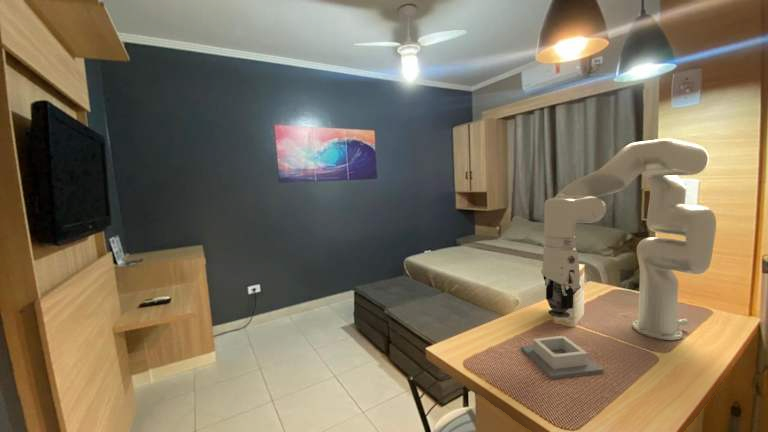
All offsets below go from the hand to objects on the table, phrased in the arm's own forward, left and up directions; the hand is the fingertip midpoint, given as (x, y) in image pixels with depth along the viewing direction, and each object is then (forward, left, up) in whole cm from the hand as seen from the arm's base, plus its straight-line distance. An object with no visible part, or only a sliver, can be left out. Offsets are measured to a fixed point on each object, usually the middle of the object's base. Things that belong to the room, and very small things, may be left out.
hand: (559, 303), depth 89 cm
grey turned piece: (0, 0, -3) cm, 3 cm away
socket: (0, 0, -17) cm, 17 cm away
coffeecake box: (-21, -24, -18) cm, 36 cm away
